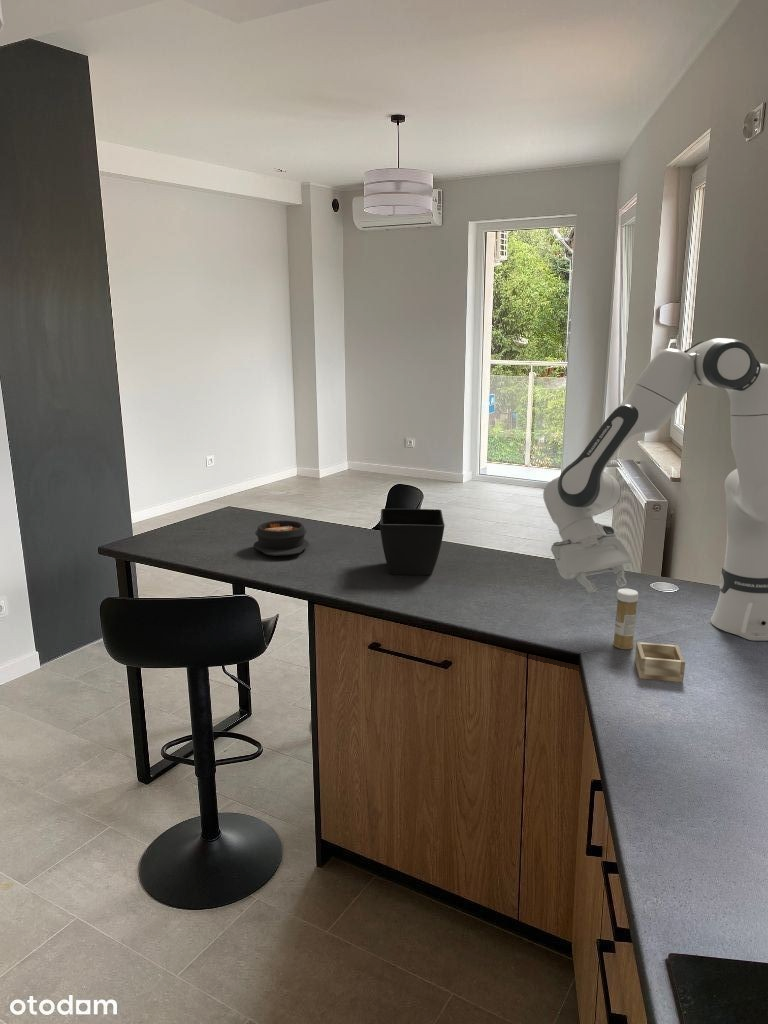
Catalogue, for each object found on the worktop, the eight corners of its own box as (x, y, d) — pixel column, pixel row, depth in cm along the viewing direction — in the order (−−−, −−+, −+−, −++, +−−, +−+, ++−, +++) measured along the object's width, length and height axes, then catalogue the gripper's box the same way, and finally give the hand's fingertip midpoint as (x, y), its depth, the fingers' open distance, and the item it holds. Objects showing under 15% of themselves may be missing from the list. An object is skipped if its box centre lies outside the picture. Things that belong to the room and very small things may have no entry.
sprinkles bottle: (609, 642, 170) (614, 588, 167) (628, 641, 171) (633, 587, 168) (617, 650, 166) (622, 594, 163) (636, 649, 166) (642, 594, 163)
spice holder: (676, 664, 159) (678, 645, 158) (683, 682, 151) (685, 662, 150) (634, 660, 161) (636, 641, 159) (639, 678, 152) (641, 658, 151)
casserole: (252, 541, 254) (251, 518, 252) (305, 538, 257) (305, 515, 255) (254, 562, 230) (253, 536, 228) (313, 559, 234) (312, 533, 232)
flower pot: (443, 579, 214) (444, 524, 210) (379, 578, 215) (379, 523, 211) (440, 560, 233) (441, 508, 229) (381, 559, 233) (381, 508, 229)
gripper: (555, 536, 170) (581, 589, 163) (620, 526, 179) (647, 576, 173) (541, 550, 174) (566, 601, 168) (605, 539, 184) (631, 588, 178)
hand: (608, 588), depth 171 cm, fingers open, 8 cm apart
